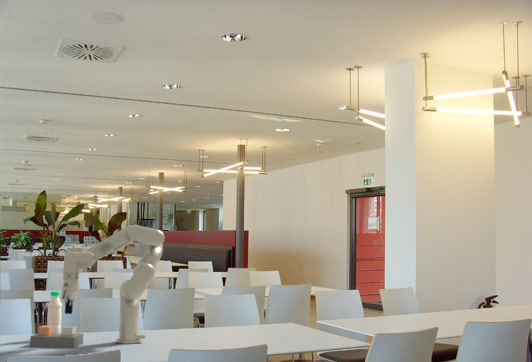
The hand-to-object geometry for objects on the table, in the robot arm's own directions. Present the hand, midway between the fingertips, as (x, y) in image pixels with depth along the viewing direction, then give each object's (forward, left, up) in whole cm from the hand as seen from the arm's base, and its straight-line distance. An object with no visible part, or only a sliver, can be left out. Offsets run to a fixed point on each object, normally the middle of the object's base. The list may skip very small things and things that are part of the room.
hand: (68, 313), depth 304 cm
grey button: (-1, 0, -12) cm, 12 cm away
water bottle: (+14, -16, -16) cm, 27 cm away
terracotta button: (+11, 0, -12) cm, 16 cm away
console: (+5, 0, -16) cm, 17 cm away
